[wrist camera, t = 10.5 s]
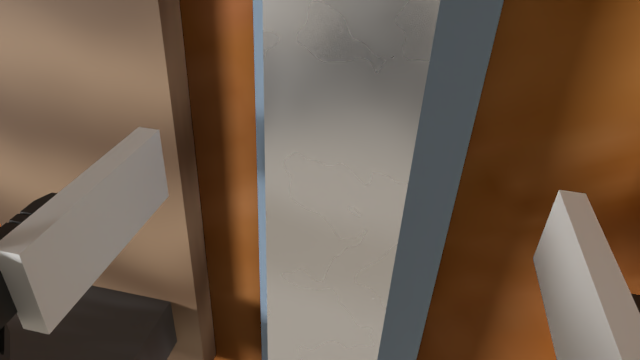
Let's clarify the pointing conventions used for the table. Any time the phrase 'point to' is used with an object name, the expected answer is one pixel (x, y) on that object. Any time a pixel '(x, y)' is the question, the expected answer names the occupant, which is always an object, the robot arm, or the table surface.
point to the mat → (414, 165)
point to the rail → (338, 165)
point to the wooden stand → (88, 147)
